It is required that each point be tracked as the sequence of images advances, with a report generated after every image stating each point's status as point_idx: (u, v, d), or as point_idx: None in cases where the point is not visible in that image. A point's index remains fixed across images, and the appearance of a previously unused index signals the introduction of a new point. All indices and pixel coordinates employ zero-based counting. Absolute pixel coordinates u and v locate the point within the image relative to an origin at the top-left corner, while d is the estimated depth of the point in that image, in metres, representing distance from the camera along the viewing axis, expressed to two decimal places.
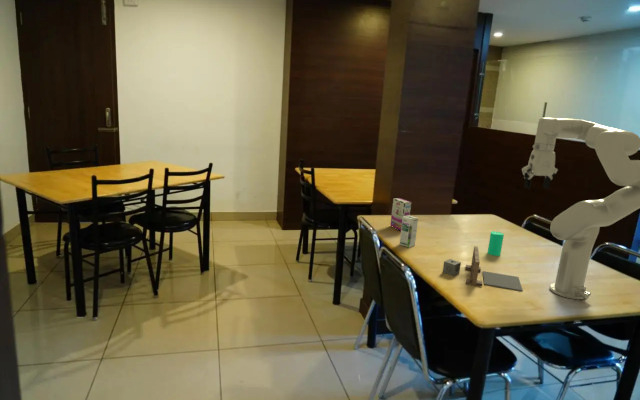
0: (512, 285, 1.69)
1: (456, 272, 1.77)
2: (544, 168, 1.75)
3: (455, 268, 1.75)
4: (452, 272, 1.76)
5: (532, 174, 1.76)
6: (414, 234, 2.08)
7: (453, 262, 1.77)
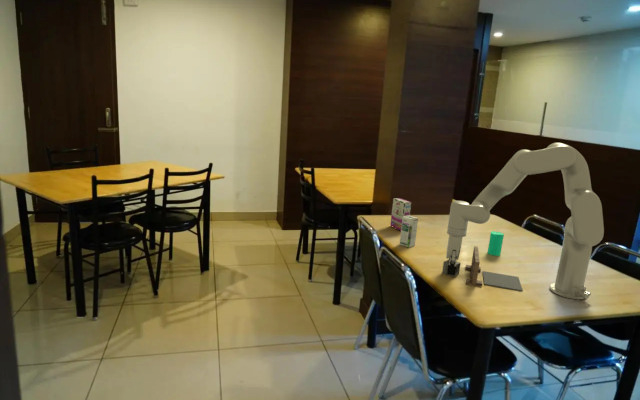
0: (512, 285, 1.69)
1: (456, 272, 1.76)
2: None
3: None
4: None
5: None
6: (414, 234, 2.08)
7: None
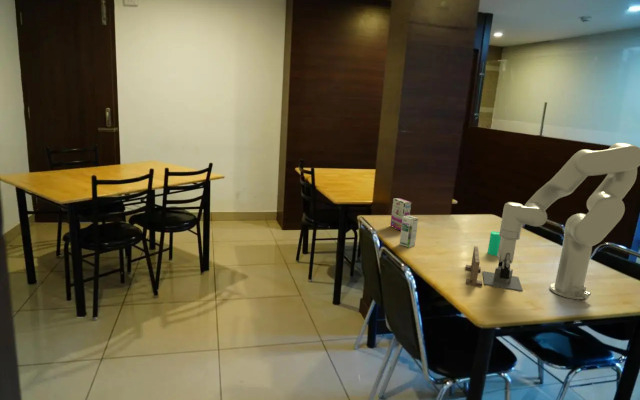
0: (512, 285, 1.69)
1: (508, 279, 1.71)
2: (499, 251, 1.72)
3: None
4: (504, 279, 1.70)
5: None
6: (414, 234, 2.08)
7: None
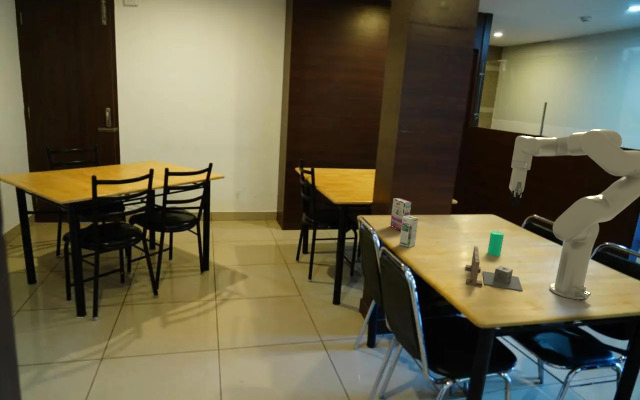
0: (512, 285, 1.69)
1: (508, 280, 1.71)
2: (510, 182, 1.85)
3: (508, 276, 1.69)
4: (504, 280, 1.70)
5: None
6: (414, 234, 2.08)
7: (505, 269, 1.71)
